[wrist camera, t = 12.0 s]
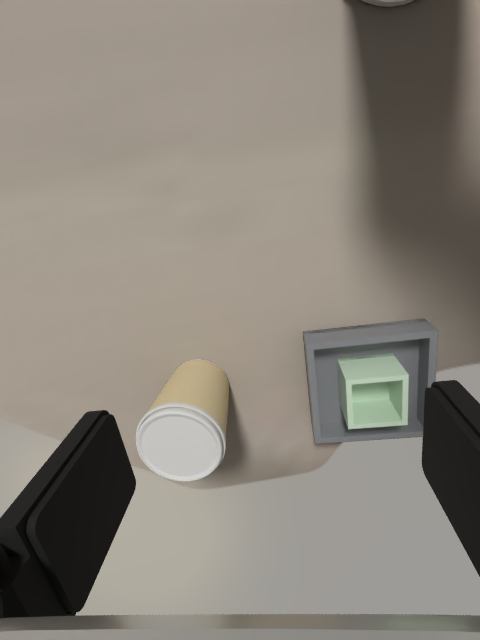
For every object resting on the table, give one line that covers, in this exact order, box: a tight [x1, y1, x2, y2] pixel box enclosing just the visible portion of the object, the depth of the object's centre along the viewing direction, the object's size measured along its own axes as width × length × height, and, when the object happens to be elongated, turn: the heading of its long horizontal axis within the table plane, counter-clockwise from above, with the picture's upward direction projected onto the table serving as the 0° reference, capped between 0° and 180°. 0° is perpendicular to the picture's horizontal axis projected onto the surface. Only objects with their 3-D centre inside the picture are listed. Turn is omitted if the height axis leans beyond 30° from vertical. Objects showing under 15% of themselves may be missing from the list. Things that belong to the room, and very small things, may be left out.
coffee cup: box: [136, 359, 229, 481], centre depth 40 cm, size 9×9×12 cm
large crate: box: [303, 319, 438, 444], centre depth 41 cm, size 14×14×4 cm
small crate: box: [337, 353, 409, 429], centre depth 40 cm, size 6×6×5 cm
